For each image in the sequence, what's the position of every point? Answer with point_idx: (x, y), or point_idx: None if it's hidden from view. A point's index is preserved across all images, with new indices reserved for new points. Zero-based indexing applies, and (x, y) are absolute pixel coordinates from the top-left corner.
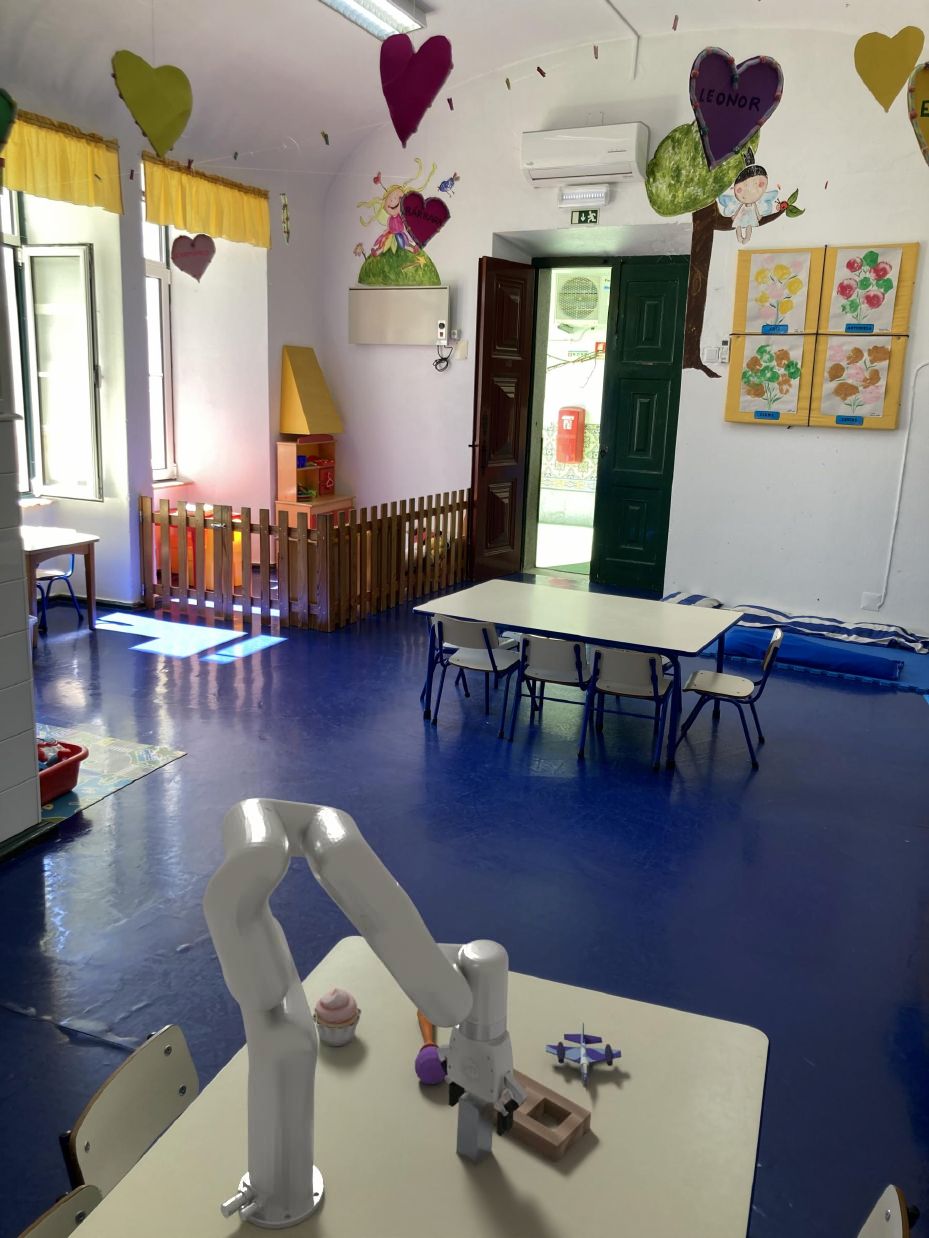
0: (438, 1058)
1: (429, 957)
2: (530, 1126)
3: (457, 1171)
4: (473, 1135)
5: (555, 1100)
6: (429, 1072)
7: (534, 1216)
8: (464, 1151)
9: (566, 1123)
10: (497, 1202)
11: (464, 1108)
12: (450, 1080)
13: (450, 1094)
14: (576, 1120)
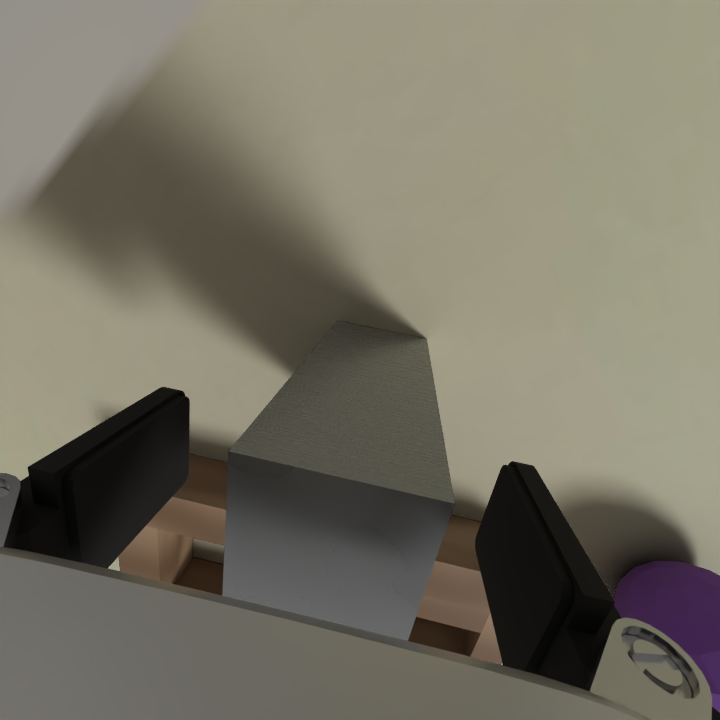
0: None
1: None
2: (223, 518)
3: (379, 260)
4: (329, 362)
5: None
6: (699, 610)
7: (71, 226)
8: (388, 339)
9: (147, 566)
10: (189, 209)
11: (389, 445)
12: (626, 653)
13: (552, 521)
14: None
